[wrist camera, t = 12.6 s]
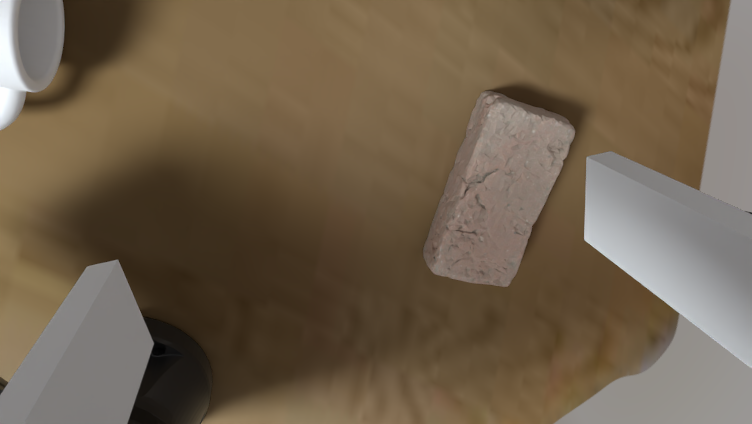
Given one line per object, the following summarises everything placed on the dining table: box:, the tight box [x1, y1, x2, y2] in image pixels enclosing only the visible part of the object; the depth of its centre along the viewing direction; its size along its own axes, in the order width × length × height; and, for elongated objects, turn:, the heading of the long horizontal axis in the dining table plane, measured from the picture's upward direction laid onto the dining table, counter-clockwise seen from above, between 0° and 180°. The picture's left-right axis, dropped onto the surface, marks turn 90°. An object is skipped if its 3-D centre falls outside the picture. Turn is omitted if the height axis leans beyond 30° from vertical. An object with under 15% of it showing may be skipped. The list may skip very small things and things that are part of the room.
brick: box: [423, 91, 575, 287], centre depth 45 cm, size 17×8×5 cm, turn 163°
